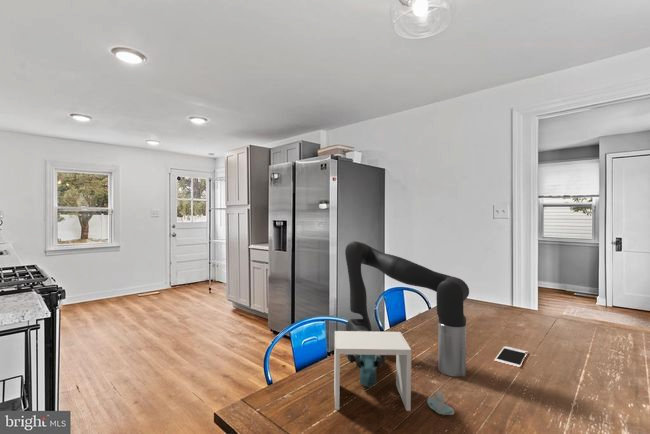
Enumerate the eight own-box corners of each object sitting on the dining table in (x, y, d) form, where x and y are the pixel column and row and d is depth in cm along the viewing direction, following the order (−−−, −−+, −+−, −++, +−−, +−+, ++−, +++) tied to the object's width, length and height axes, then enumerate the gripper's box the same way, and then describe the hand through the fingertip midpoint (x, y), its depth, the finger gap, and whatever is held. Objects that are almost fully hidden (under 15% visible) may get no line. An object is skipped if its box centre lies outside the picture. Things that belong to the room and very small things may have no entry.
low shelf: (334, 384, 106) (334, 331, 106) (399, 385, 106) (400, 331, 106) (335, 409, 92) (335, 348, 92) (410, 410, 92) (411, 349, 92)
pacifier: (438, 402, 97) (424, 407, 94) (438, 381, 97) (425, 386, 94) (459, 415, 91) (445, 421, 88) (460, 392, 91) (446, 398, 88)
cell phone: (528, 353, 132) (528, 351, 132) (520, 369, 119) (520, 367, 119) (504, 348, 138) (504, 345, 138) (493, 362, 124) (493, 360, 124)
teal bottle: (377, 379, 105) (378, 342, 105) (373, 387, 100) (374, 348, 100) (362, 376, 107) (362, 340, 107) (357, 384, 102) (358, 346, 102)
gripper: (343, 333, 118) (346, 353, 101) (382, 333, 118) (392, 354, 101) (343, 353, 118) (346, 377, 101) (382, 354, 118) (392, 377, 101)
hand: (369, 365), depth 101 cm, fingers closed on teal bottle, 5 cm apart
